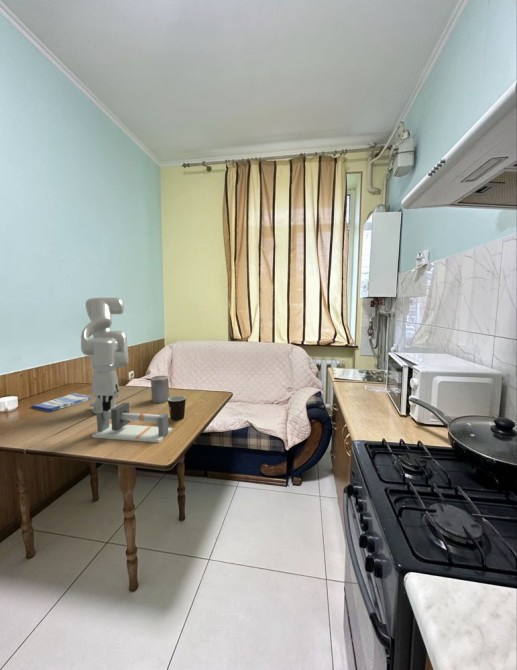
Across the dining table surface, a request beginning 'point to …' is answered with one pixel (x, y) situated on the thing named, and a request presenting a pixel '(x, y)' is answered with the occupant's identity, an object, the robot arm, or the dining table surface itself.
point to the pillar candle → (160, 389)
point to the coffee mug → (177, 407)
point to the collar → (116, 417)
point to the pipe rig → (133, 427)
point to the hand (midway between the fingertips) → (106, 409)
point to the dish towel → (62, 402)
